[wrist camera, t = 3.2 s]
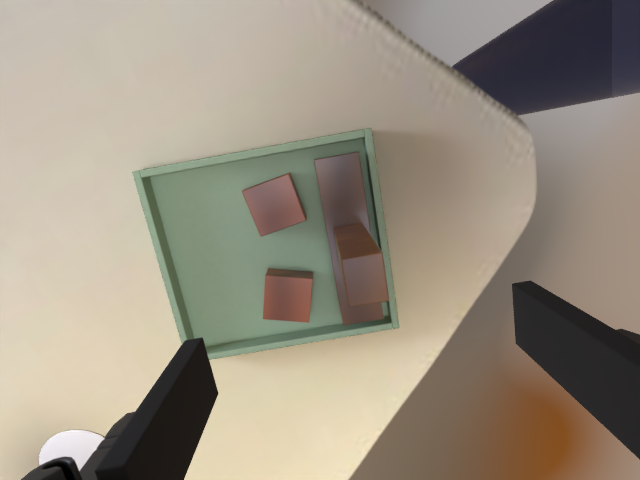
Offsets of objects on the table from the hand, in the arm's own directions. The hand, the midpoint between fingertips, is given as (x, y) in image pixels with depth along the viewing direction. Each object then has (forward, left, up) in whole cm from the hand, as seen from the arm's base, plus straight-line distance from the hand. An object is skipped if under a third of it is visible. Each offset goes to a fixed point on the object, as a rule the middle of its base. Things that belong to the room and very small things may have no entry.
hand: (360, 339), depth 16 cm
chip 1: (+4, -4, -17) cm, 18 cm away
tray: (+5, 0, -18) cm, 19 cm away
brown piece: (-1, 0, -17) cm, 17 cm away
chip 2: (+5, +4, -17) cm, 18 cm away
